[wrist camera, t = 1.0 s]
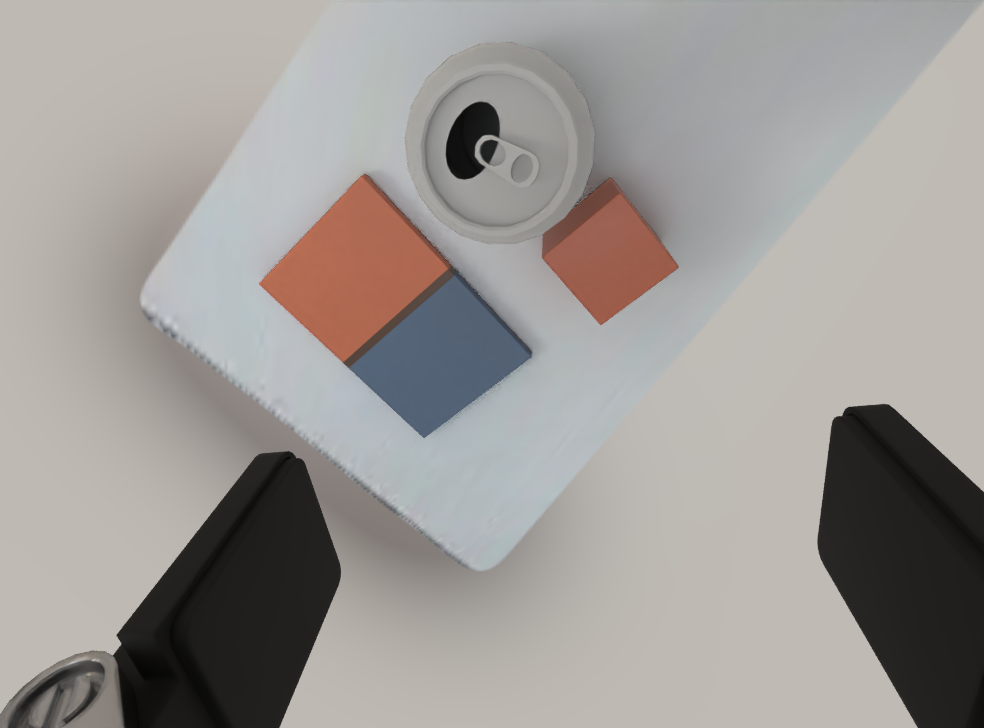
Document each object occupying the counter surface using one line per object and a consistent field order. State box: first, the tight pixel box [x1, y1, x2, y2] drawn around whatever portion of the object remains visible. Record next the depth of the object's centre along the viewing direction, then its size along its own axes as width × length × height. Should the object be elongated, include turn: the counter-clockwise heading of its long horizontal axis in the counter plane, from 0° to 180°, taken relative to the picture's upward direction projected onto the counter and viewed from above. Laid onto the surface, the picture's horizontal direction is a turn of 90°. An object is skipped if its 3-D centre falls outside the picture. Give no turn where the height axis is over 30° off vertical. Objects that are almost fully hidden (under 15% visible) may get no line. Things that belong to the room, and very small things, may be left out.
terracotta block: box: [542, 178, 678, 325], centre depth 32 cm, size 5×5×5 cm
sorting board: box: [259, 174, 532, 438], centre depth 37 cm, size 10×15×1 cm, turn 42°
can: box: [405, 42, 595, 244], centre depth 26 cm, size 8×8×12 cm
